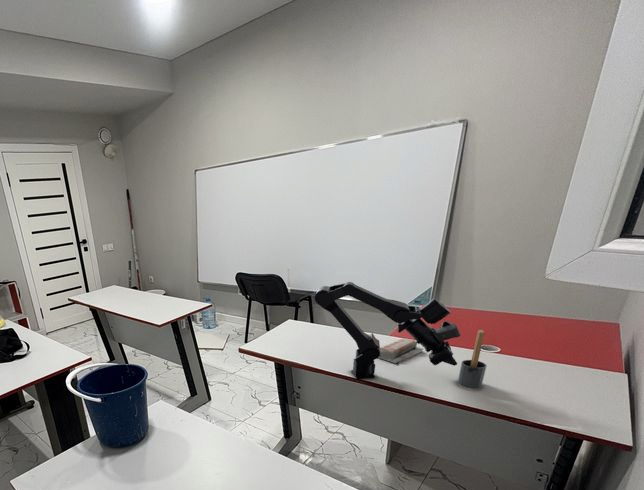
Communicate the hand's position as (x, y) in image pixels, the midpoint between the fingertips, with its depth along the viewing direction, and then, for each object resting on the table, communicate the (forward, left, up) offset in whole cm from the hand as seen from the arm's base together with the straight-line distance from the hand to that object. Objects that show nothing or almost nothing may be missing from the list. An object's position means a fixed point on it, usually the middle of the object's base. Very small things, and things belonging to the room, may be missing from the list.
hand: (455, 364), depth 120 cm
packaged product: (-6, +26, -7) cm, 28 cm away
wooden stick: (+4, -2, -7) cm, 8 cm away
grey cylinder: (+4, -2, -7) cm, 9 cm away
